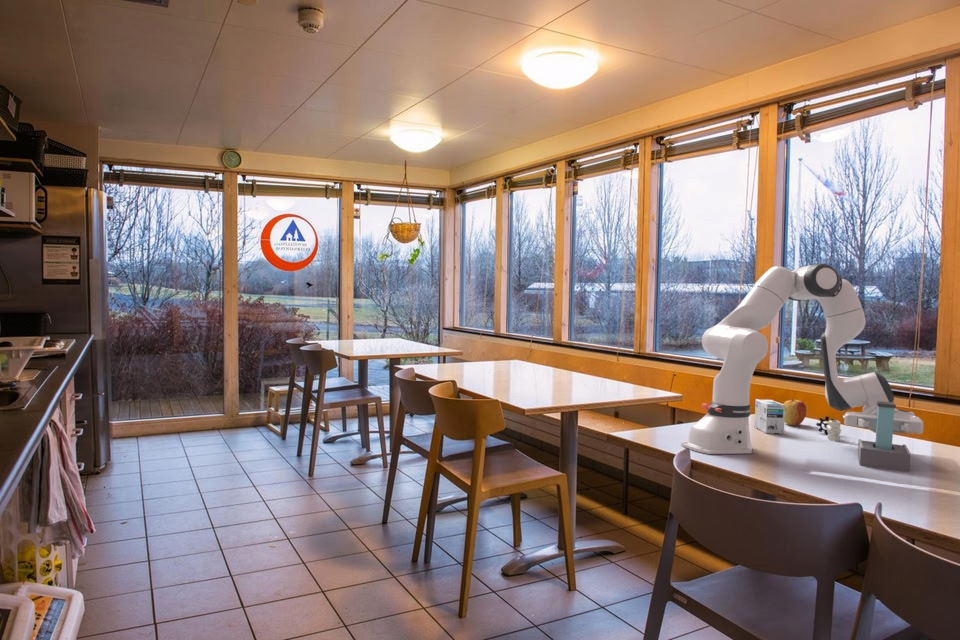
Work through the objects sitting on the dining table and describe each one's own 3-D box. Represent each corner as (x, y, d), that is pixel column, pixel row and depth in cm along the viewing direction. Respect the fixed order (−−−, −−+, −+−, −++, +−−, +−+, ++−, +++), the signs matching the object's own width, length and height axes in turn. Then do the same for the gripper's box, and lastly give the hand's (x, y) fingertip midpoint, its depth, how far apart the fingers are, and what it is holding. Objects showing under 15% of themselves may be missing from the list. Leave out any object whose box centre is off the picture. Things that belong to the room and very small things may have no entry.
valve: (845, 442, 220) (835, 434, 232) (846, 423, 220) (836, 416, 232) (824, 440, 222) (815, 433, 233) (825, 421, 222) (816, 415, 233)
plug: (892, 466, 185) (895, 404, 184) (874, 464, 187) (877, 403, 186) (890, 463, 189) (894, 402, 188) (873, 460, 191) (876, 401, 190)
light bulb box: (784, 434, 229) (786, 404, 229) (765, 433, 229) (767, 403, 229) (771, 427, 240) (772, 399, 240) (753, 427, 240) (754, 398, 240)
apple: (804, 428, 241) (805, 402, 240) (777, 425, 245) (779, 399, 245) (806, 424, 248) (808, 398, 248) (781, 421, 253) (782, 396, 253)
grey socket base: (909, 475, 180) (910, 453, 180) (859, 468, 186) (860, 447, 185) (904, 465, 191) (905, 444, 190) (857, 459, 196) (858, 439, 196)
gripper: (842, 405, 204) (844, 412, 192) (919, 412, 195) (926, 420, 183) (841, 424, 205) (843, 432, 192) (918, 433, 195) (925, 442, 183)
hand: (884, 426), depth 187 cm, fingers open, 8 cm apart
